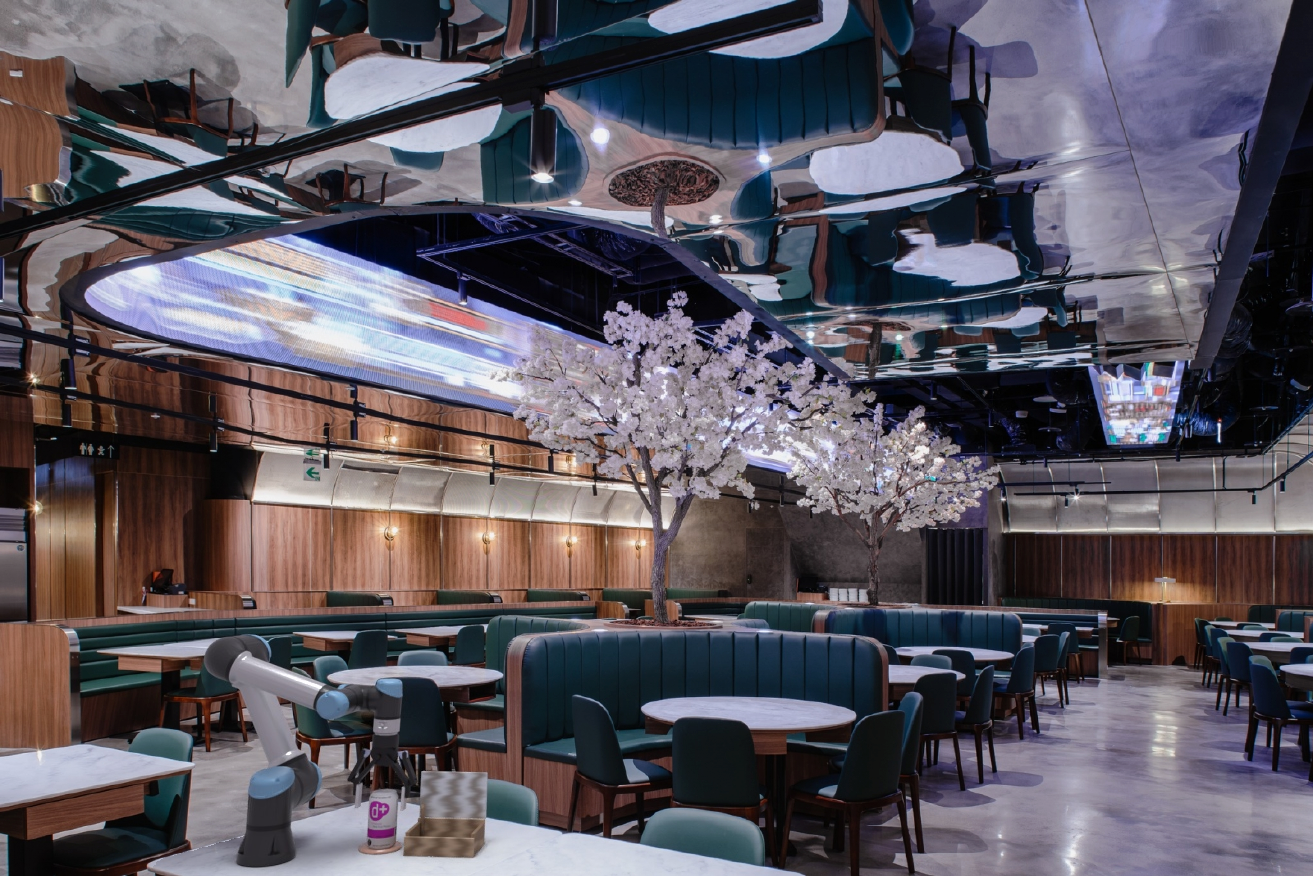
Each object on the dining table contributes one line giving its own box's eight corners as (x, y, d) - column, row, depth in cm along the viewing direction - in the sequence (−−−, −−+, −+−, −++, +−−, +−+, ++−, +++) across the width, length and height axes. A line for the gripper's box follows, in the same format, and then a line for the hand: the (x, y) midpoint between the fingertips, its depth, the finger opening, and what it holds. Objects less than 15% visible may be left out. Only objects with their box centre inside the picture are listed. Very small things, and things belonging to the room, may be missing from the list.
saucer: (352, 854, 253) (352, 851, 254) (367, 841, 265) (368, 839, 265) (393, 855, 253) (393, 853, 253) (407, 842, 265) (407, 840, 265)
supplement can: (387, 851, 254) (390, 796, 257) (360, 849, 256) (364, 794, 258) (401, 843, 262) (403, 789, 264) (375, 841, 264) (378, 787, 266)
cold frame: (403, 856, 252) (406, 782, 255) (419, 841, 266) (422, 771, 269) (472, 857, 251) (475, 783, 254) (485, 843, 265) (487, 772, 268)
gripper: (339, 733, 261) (333, 809, 258) (423, 737, 259) (418, 814, 256) (350, 729, 268) (344, 803, 265) (431, 732, 267) (426, 807, 264)
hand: (380, 808), depth 261 cm, fingers open, 13 cm apart
